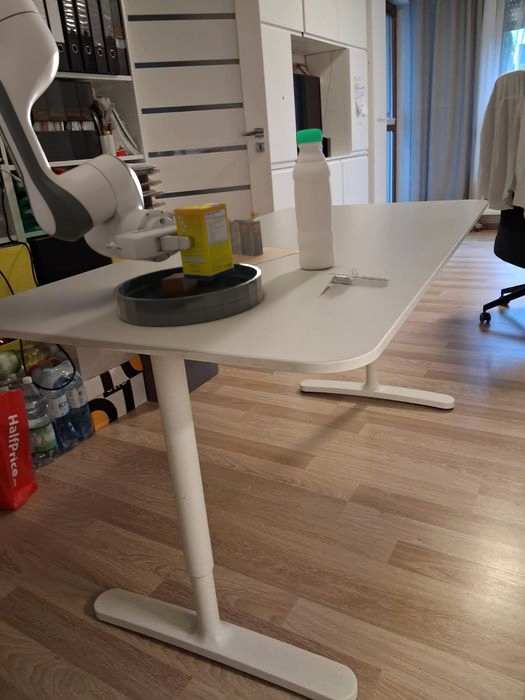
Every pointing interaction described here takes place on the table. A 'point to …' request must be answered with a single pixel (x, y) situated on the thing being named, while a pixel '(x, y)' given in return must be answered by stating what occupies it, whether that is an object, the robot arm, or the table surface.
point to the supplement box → (205, 241)
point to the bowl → (188, 298)
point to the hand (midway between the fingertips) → (208, 238)
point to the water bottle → (313, 203)
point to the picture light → (349, 277)
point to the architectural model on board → (252, 243)
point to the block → (179, 286)
